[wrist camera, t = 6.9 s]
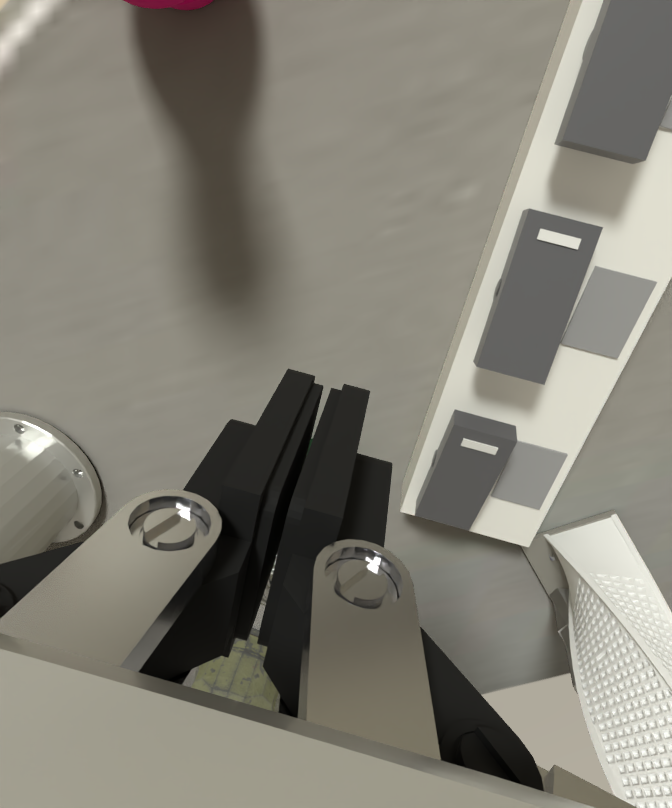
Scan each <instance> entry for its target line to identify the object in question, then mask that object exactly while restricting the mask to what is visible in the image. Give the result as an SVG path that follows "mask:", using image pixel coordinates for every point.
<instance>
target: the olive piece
mask: <svg viewBox="0 0 672 808" xmlns="http://www.w3.org/2000/svg"><path fill="white" fill-rule="evenodd" d="M259 632H260V631H259V630H256V629H253V628H252V629H251V632H250V635H249V638H248V640H247V641H245V640H242V639H238V638H236V639H235V641H234V644H233V647H232V649H231V652H230V655H229V658H227V657H224V656H220V657H218V658H215V659H213V660H211V661H209V662H206V663H204V664H202V665H200V666H199V671H198V674H197V676H196V679H195V681H194V683H193V685H192V687H191V688H194V689H198V690H201V691H205V692H208V693H212V694H215V695H219V696H222V697H225V698H229V699H232V700H236V701H239V702H243V703H246V704H250V705H253V706H257V707H260V708H264V709H267V710H270V711H275V704H276V700H277V697H278V691H277V689H276V688H275V686H274V684H273V683H272V681H271V679H270V678H269V676H268V674H267V673H266V671H265V670H264V668H263V663H264V659H265V655H266V651H267V647H266V646H263V645H259V644H257V641H258V636H259Z"/></svg>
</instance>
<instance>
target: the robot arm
mask: <svg viewBox="0 0 672 808" xmlns="http://www.w3.org/2000/svg"><path fill="white" fill-rule="evenodd" d="M314 380H315V376H313V375H310V374H306V373H302V372H298V371H295V370H291V369H288V370H287V371H286V373H285V375H284V377H283V379H282V380H281V382H280V384H279V386H278V387H277V389H276V391H275V393H274V394H273V396H272V398H271V400H270V402H269V403H268V405H267V407H266V409H265V410H264V412H263V414H262V416H261V417H260V419H259V421H258V423H257V424H256V426H255V425H252V424H248V423H244V422H241V421H237V420H233V419H232V420H230V421H229V422H228V423H227V425H226V426H225V428H224V429H223V431H222V432H221V434H220V435H219V437H218V438H217V440H216V441H215V443H214V444H213V446H212V447H211V449H210V450H209V452H208V453H207V455H206V456H205V458H204V459H203V461H202V462H201V464H200V465H199V467H198V468H197V470H196V471H195V473H194V474H193V476H192V477H191V479H190V480H189V482H188V483H187V485H186V486H185V488H184V489H183V490H173V489H164V490H156V491H151V492H148V493H145V494H142V495H139V496H137V497H136V498H134V499H133V500H131V501H130V502H128V503H127V504H125V505H124V506H123V507H122V508H121V509H120V510H119V511H118V512H117V513H116V514H115V515H113V516H112V517H111V518H110V519H109V520H108V521H107V522H106V523H105V524H104V525H102V526H101V527H100V528H99V529H98V530H97V531H96V532H95V533H94V534H93V535H92V536H90V537H89V538H88V539H87V540H86V541H84V542H80V543H77V544H73V545H69V546H65V547H62V548H58V549H54V550H51V551H47V552H44V551H45V550H46V549H47V548H48V547H49V546H50V544H51V543H59V542H65V541H69V540H72V539H74V538H77V537H78V536H80V535H81V534H83V533H84V532H86V530H87V529H88V528H89V527H90V526H91V525H92V524H93V522H94V521H95V519H96V518H97V516H98V514H99V511H100V508H101V504H102V492H101V487H100V482H99V479H98V477H97V474H96V472H95V470H94V468H93V466H92V465H91V463H90V461H89V460H88V458H87V457H86V455H85V454H84V453H83V452H82V451H81V450H80V448H79V447H78V446H77V445H76V444H75V443H74V442H73V441H72V440H70V439H69V438H68V437H67V436H66V435H65V434H63V433H62V432H60V431H59V430H57V429H56V428H54V427H53V426H51V425H49V424H47V423H45V422H43V421H41V420H39V419H37V418H34V417H31V416H28V415H24V414H20V413H13V412H0V808H637V807H635V806H633V805H631V804H629V803H627V802H625V801H623V800H622V799H620V798H618V797H616V796H614V795H612V794H610V793H608V792H606V791H604V790H602V789H600V788H598V787H597V786H595V785H593V784H591V783H589V782H587V781H585V780H583V779H581V778H579V777H577V776H575V775H573V774H572V773H570V772H568V771H566V770H564V769H562V768H560V767H558V766H556V765H554V766H553V767H552V768H551V770H550V771H547V770H545V769H543V768H541V767H539V766H537V765H536V763H535V761H534V758H533V757H532V755H531V754H530V752H529V751H528V750H527V748H526V747H525V745H524V744H523V743H522V741H521V740H520V739H519V737H518V736H517V735H516V734H515V733H514V732H513V731H512V729H511V728H510V727H509V726H508V725H507V724H506V723H505V722H504V720H503V719H502V718H501V717H500V716H499V715H498V714H497V713H496V711H495V710H494V709H493V708H492V707H491V706H490V705H489V704H488V702H487V701H486V700H485V699H484V698H483V697H482V696H481V694H480V693H479V692H478V691H477V690H476V689H475V688H474V687H473V685H472V684H471V683H470V682H469V681H468V680H467V679H466V678H465V676H464V675H463V674H462V673H461V672H460V671H459V670H458V669H457V667H456V666H455V665H454V664H453V663H452V662H451V661H450V660H449V658H448V657H447V656H446V655H445V654H444V653H443V652H442V650H441V649H440V648H439V647H438V646H437V645H436V644H435V643H434V641H433V640H432V639H431V638H430V637H429V636H428V635H427V634H426V632H425V631H424V630H423V629H422V628H421V627H420V623H419V617H418V610H417V604H416V598H415V591H414V585H413V582H412V579H411V576H410V573H409V571H408V570H407V568H406V567H405V565H404V564H403V563H402V561H401V560H400V559H398V558H397V557H396V556H395V555H394V554H393V553H391V552H390V551H389V550H387V549H385V548H384V541H385V532H386V522H387V512H388V503H389V493H390V484H391V474H392V463H390V462H387V461H383V460H379V459H376V458H372V457H368V456H365V455H361V454H358V453H357V450H358V445H359V441H360V436H361V431H362V427H363V422H364V417H365V413H366V408H367V403H368V399H369V394H370V391H369V390H365V389H361V388H358V387H354V386H350V385H346V384H344V385H343V388H342V391H341V390H337V389H334V388H331V391H330V393H329V396H328V399H327V402H326V404H325V407H324V410H323V413H322V415H321V418H320V421H319V424H318V427H317V429H316V432H315V435H314V438H313V440H312V443H311V446H310V449H309V445H310V441H311V437H312V432H313V428H314V424H315V420H316V416H317V412H318V407H319V403H320V399H321V395H322V391H323V385H319V384H315V383H314ZM308 449H309V451H308ZM307 453H308V454H307ZM277 554H278V555H277ZM276 557H277V559H276ZM275 560H276V563H275ZM274 563H275V568H274V572H273V576H272V581H271V585H270V589H269V593H268V598H267V602H266V606H265V611H264V615H263V619H262V623H261V628H260V632H259V636H258V641H257V644H259V645H263V646H266V647H267V651H266V655H265V659H264V663H263V668H264V670H265V671H266V673H267V674H268V676H269V678H270V679H271V681H272V683H273V684H274V686H275V688H276V689H277V691H278V697H277V700H276V704H275V711H270V710H267V709H264V708H260V707H257V706H253V705H250V704H246V703H243V702H239V701H236V700H232V699H229V698H225V697H222V696H219V695H215V694H212V693H208V692H205V691H201V690H198V689H194V688H191V687H192V685H193V683H194V681H195V679H196V676H197V674H198V671H199V666H200V665H202V664H204V663H206V662H209V661H211V660H213V659H215V658H218V657H220V656H224V657H227V658H229V655H230V652H231V649H232V647H233V644H234V641H235V639H236V638H238V639H242V640H245V641H247V640H248V638H249V635H250V632H251V629H252V626H253V623H254V621H255V618H256V615H257V612H258V609H259V606H260V603H261V600H262V598H263V595H264V592H265V589H266V586H267V583H268V580H269V577H270V575H271V572H272V569H273V566H274Z"/></svg>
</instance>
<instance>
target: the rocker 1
mask: <svg viewBox="0 0 672 808" xmlns="http://www.w3.org/2000/svg"><path fill="white" fill-rule="evenodd" d="M516 443H517V433H516V426H514V425H511V424H507V423H503V422H500V421H496V420H492V419H489V418H485V417H481V416H477V415H474V414H470V413H466V412H463V411H459V410H454V412H453V414H452V417H451V419H450V421H449V424H448V426H447V428H446V431H445V433H444V436H443V438H442V440H441V443H440V445H439V447H438V450H435V453H434V455H433V459H432V463H431V466H430V469H429V471H428V473H427V476H426V478H425V480H424V483H423V485H422V488H421V490H420V492H419V495H418V497H417V499H416V508H415V516H418V517H422V518H425V519H429V520H432V521H436V522H440V523H443V524H447V525H450V526H454V527H457V528H461V529H465V530H468V531H469V530H470V528H471V526H472V524H473V522H474V521H475V519H476V517H477V515H478V513H479V511H480V510H481V508H482V506H483V504H484V502H485V500H486V499H487V497H488V495H489V493H490V491H491V489H492V488H493V486H494V484H495V482H496V480H497V478H498V477H499V475H500V473H501V471H502V469H503V467H504V465H505V464H506V462H507V460H508V458H509V456H510V454H511V453H512V451H513V449H514V447H515V445H516Z"/></svg>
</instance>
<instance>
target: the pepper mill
mask: <svg viewBox="0 0 672 808" xmlns="http://www.w3.org/2000/svg"><path fill="white" fill-rule="evenodd" d="M124 1H126V2H128V3H130V4H132V5H135V6H139V7H143V8H152V9H160V8H168V7H171V8H174V9H179V10H194V9H198V8H201V7H204V6H206V5H208V4H209V3H211V2H212V1H213V0H124Z"/></svg>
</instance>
